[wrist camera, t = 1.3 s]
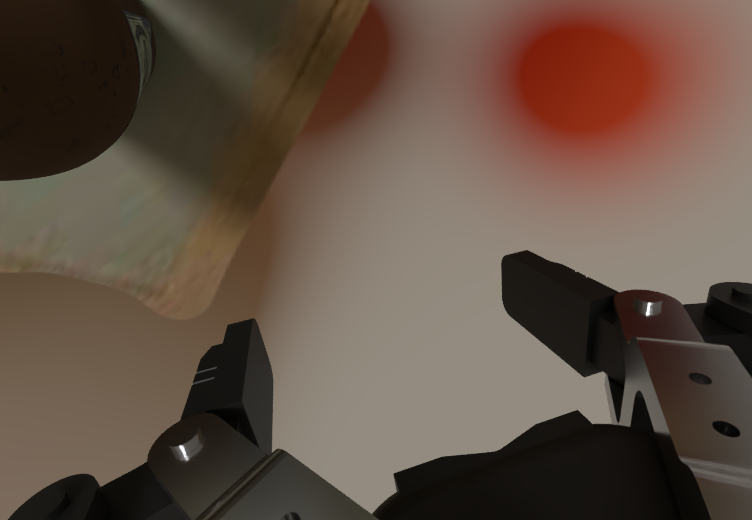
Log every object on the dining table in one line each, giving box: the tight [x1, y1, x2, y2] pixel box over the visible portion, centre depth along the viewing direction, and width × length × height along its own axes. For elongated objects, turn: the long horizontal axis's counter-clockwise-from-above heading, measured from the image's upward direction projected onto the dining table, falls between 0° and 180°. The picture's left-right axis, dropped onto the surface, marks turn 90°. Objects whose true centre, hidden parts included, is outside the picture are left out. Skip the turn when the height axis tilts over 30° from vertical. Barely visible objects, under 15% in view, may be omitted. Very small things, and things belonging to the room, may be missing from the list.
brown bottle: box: [0, 0, 156, 181], centre depth 16 cm, size 11×11×25 cm
